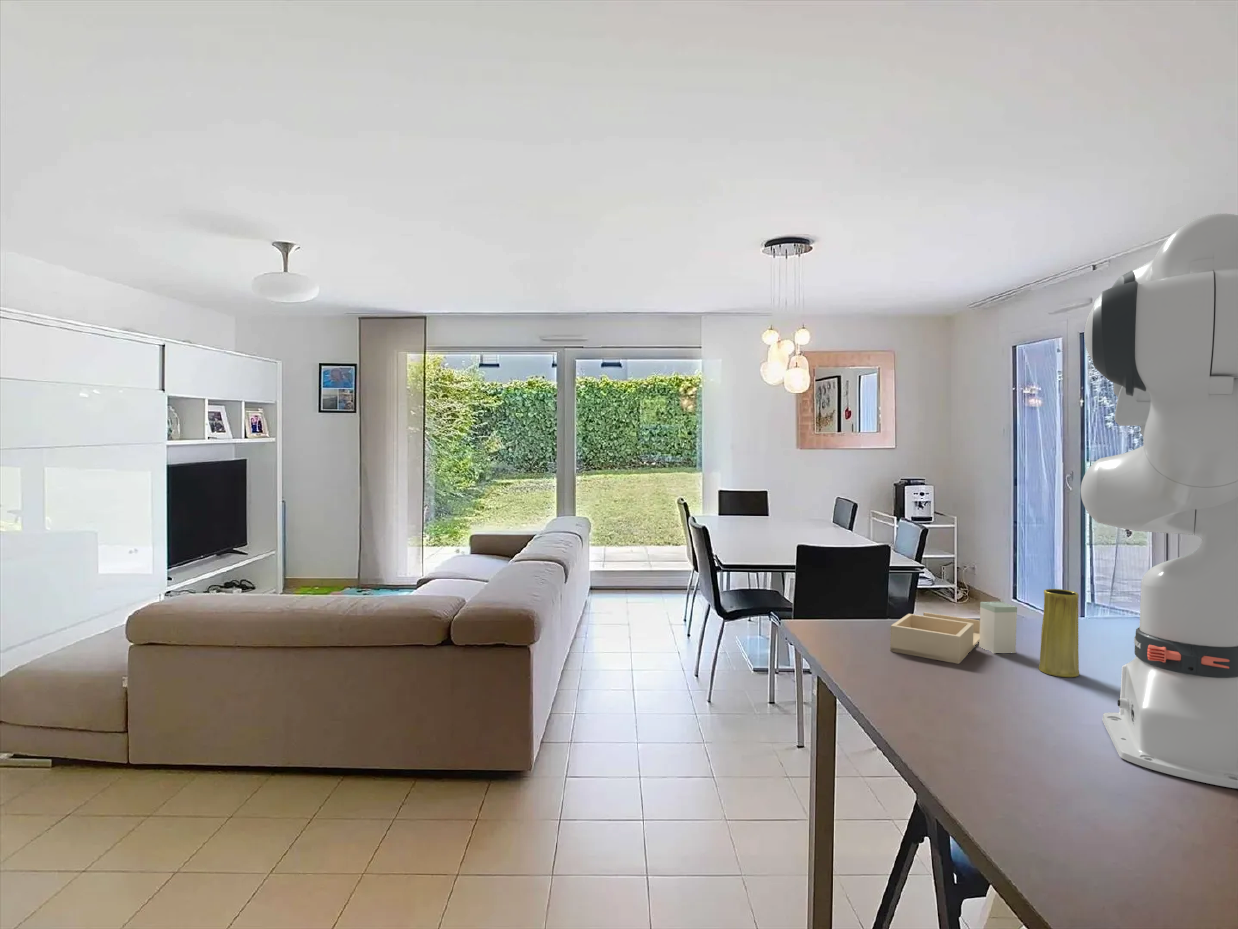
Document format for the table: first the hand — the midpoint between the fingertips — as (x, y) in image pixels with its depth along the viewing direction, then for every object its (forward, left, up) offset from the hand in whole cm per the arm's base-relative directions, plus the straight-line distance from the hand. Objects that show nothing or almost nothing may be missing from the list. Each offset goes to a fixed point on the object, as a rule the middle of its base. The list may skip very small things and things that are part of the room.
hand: (1190, 453), depth 114 cm
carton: (+7, +28, -39) cm, 48 cm away
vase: (-1, +17, -39) cm, 43 cm away
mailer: (+5, +38, -39) cm, 55 cm away
